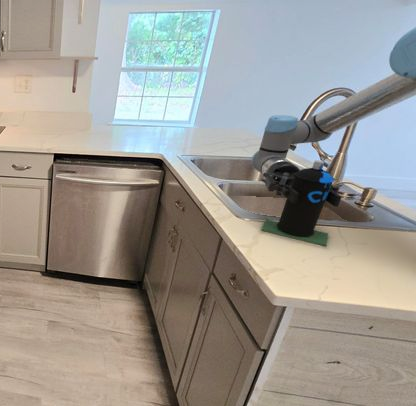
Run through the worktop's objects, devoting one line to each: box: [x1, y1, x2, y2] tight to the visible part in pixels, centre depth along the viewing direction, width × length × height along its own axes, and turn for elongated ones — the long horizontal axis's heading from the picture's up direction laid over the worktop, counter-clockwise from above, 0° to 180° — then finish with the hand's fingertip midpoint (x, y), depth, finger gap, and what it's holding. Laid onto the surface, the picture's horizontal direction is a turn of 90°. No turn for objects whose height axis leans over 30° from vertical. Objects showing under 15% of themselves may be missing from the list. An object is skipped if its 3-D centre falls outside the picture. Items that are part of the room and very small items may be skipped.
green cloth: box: [260, 218, 329, 247], centre depth 103 cm, size 14×8×1 cm, turn 46°
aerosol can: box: [277, 159, 336, 236], centre depth 99 cm, size 8×8×20 cm
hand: (316, 199), depth 94 cm, fingers closed on aerosol can, 8 cm apart
